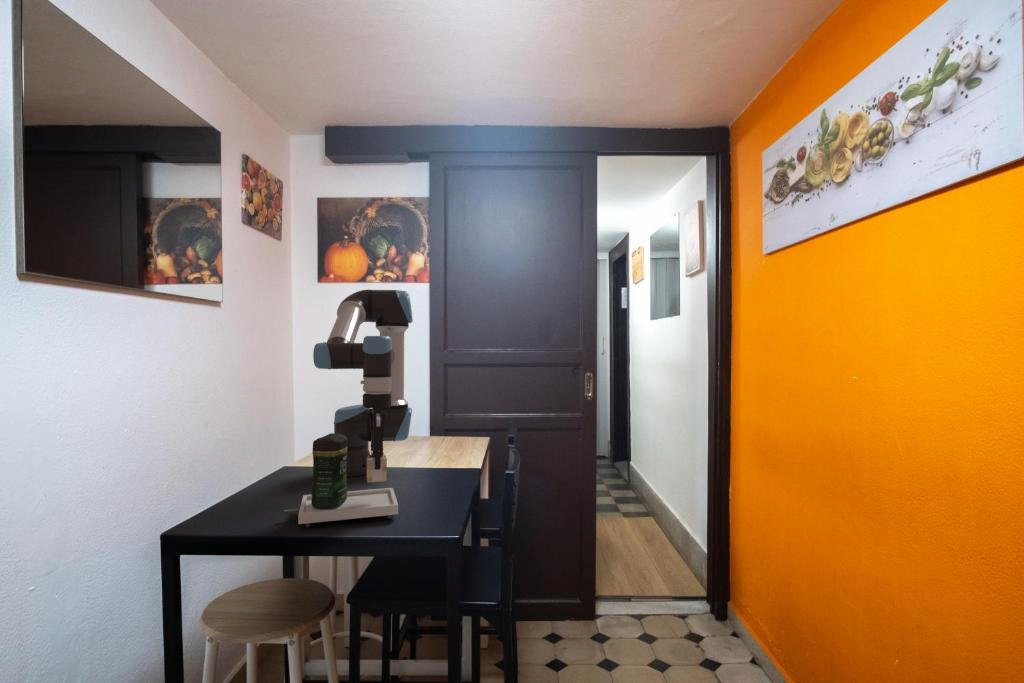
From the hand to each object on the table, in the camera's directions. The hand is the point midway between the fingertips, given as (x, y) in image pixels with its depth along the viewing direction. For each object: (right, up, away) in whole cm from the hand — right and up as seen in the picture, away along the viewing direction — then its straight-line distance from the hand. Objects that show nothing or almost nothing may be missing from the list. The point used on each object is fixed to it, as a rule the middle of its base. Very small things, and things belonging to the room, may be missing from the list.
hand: (376, 478), depth 137 cm
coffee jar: (-12, -6, -2) cm, 14 cm away
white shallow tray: (-9, -9, -3) cm, 13 cm away
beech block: (0, 0, 0) cm, 0 cm away
